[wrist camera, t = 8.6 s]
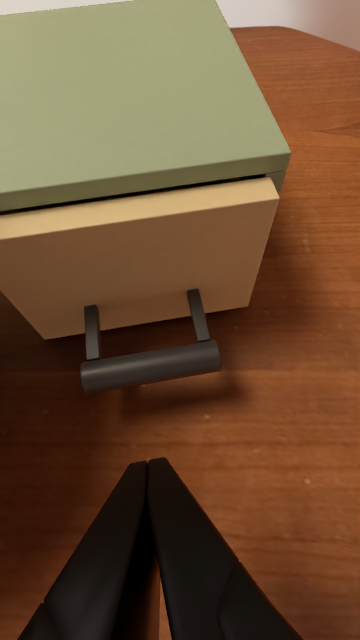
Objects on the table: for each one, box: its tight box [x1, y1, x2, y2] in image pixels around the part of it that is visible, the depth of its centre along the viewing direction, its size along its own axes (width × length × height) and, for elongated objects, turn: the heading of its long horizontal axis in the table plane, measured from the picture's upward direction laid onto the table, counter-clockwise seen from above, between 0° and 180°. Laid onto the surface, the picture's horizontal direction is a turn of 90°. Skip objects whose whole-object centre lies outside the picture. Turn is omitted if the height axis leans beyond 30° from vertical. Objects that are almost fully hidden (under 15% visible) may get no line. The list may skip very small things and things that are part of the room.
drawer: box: [0, 177, 280, 394], centre depth 17 cm, size 17×11×8 cm
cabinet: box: [0, 0, 291, 215], centre depth 19 cm, size 14×13×10 cm
